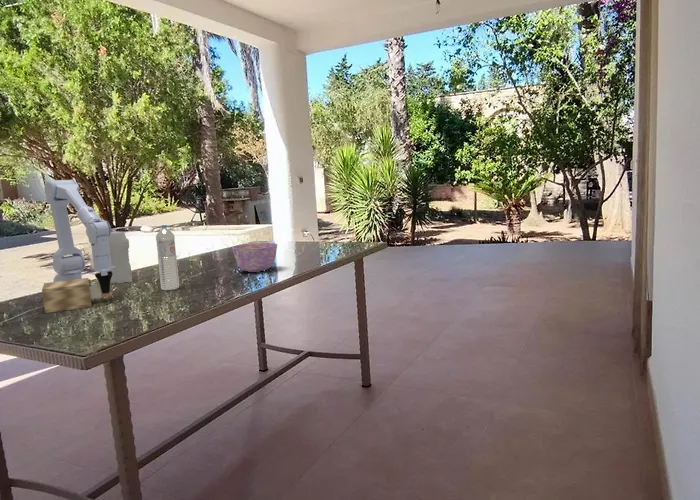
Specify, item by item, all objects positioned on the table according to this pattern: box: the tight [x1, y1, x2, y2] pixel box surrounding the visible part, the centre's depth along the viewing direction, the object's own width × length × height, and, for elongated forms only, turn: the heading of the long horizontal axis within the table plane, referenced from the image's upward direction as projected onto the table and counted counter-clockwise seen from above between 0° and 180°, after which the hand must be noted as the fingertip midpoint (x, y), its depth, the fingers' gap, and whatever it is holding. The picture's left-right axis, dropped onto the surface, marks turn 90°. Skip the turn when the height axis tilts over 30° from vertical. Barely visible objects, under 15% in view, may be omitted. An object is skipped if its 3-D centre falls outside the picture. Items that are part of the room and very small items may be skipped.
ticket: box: [89, 282, 112, 300], centre depth 184 cm, size 19×1×5 cm, turn 117°
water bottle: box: [155, 224, 180, 291], centre depth 202 cm, size 7×7×25 cm
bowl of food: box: [231, 242, 278, 273], centre depth 233 cm, size 20×20×12 cm
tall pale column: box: [108, 231, 133, 284], centre depth 223 cm, size 11×4×22 cm, turn 86°
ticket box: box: [41, 277, 93, 314], centre depth 183 cm, size 15×14×8 cm
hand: (105, 292), depth 188 cm, fingers closed on ticket
